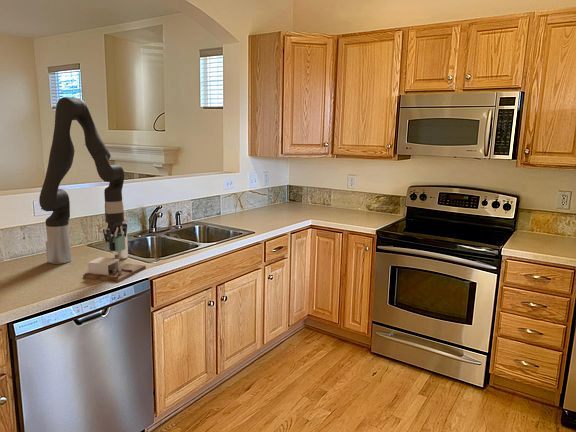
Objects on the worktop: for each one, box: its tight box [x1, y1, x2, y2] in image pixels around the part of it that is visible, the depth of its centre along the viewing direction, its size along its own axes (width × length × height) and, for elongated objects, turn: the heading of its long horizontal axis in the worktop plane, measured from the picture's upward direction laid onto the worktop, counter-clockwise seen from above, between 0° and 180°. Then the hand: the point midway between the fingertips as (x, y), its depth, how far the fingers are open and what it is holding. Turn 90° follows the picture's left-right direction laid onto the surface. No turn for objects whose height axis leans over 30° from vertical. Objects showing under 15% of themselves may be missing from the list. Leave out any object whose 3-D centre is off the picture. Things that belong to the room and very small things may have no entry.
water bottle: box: [112, 212, 129, 260], centre depth 208 cm, size 7×7×25 cm
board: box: [82, 254, 147, 283], centre depth 187 cm, size 17×19×6 cm
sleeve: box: [107, 235, 126, 252], centre depth 192 cm, size 5×5×6 cm
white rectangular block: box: [87, 256, 120, 276], centre depth 183 cm, size 9×8×5 cm
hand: (116, 249), depth 192 cm, fingers closed on sleeve, 5 cm apart
